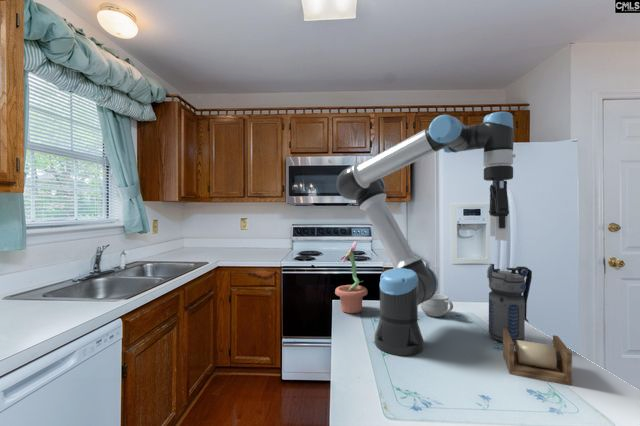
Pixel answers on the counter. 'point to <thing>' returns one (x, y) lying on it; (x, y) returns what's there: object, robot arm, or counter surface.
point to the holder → (558, 375)
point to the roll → (535, 354)
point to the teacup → (437, 305)
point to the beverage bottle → (508, 301)
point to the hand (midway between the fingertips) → (497, 238)
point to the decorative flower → (351, 289)
